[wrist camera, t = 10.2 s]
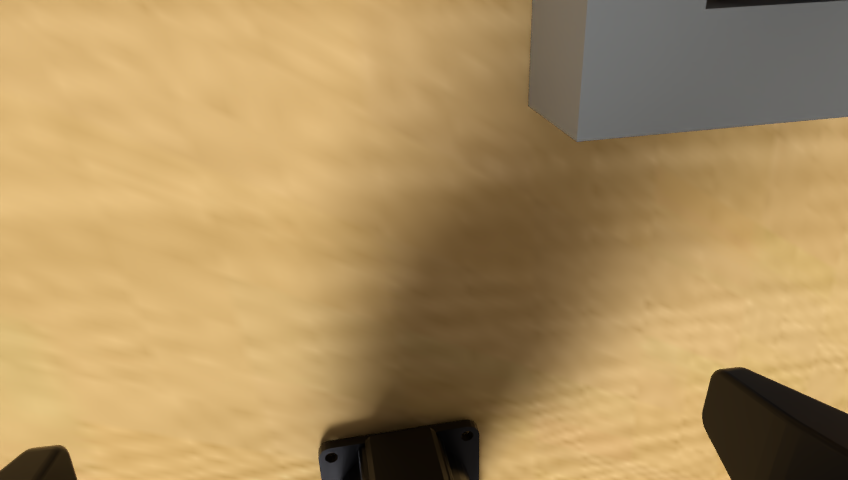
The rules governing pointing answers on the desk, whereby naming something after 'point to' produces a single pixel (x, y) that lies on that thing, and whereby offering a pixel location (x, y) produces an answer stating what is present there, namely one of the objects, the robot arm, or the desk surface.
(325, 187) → the desk surface
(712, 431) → the robot arm
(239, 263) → the desk surface
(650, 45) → the frame
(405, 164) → the desk surface
